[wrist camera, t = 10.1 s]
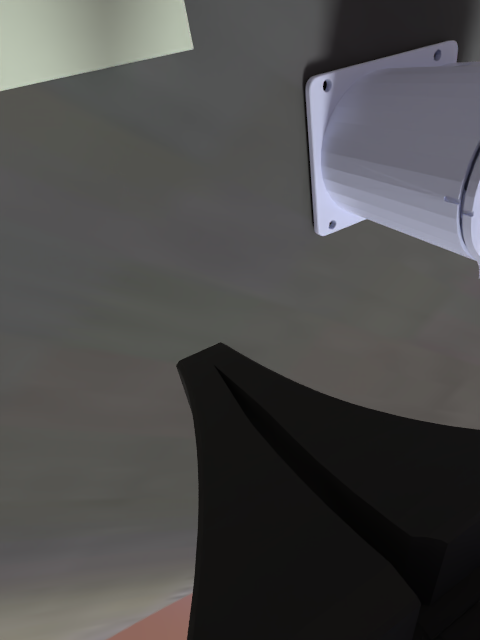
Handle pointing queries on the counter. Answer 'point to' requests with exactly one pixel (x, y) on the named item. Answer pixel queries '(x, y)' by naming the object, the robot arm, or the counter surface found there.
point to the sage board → (85, 36)
